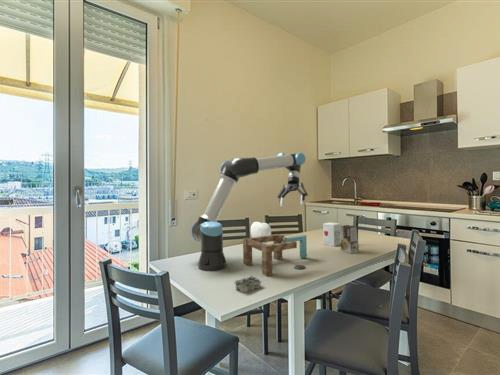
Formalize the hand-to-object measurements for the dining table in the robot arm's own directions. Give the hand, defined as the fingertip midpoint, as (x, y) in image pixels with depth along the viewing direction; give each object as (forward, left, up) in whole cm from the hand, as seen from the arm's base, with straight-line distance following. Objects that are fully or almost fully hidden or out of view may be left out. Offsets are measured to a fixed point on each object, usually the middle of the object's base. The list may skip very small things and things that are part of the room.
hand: (291, 205), depth 176 cm
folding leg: (-10, -16, -29) cm, 34 cm away
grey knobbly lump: (-53, -39, -30) cm, 72 cm away
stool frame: (-26, -19, -29) cm, 44 cm away
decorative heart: (-10, +22, -30) cm, 38 cm away
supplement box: (+35, 0, -30) cm, 46 cm away
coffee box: (+30, -20, -30) cm, 47 cm away
